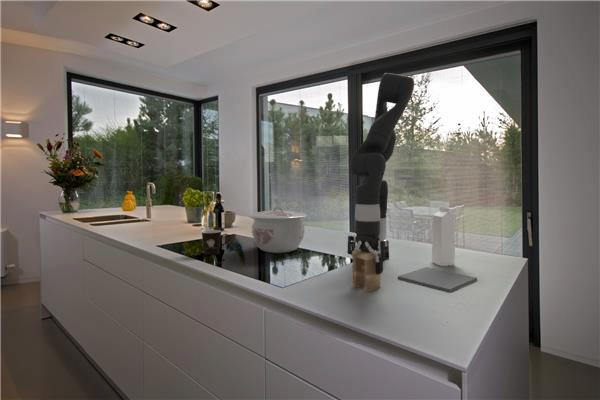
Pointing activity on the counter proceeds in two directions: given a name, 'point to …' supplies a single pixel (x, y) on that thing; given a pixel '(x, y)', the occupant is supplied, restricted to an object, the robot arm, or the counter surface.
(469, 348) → the counter surface
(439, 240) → the milk
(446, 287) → the mat
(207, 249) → the coffee mug
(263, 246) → the chamber pot
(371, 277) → the tan notched block
